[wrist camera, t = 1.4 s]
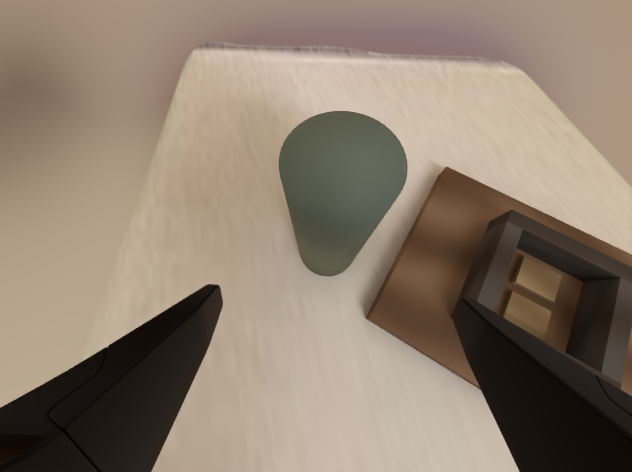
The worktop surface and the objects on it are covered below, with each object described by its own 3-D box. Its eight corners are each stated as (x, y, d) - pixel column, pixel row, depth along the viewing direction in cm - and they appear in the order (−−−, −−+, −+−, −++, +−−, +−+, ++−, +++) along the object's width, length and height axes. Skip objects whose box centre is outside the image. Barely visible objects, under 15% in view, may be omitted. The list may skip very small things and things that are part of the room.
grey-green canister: (363, 263, 21) (431, 193, 9) (311, 284, 21) (306, 241, 8) (341, 215, 23) (372, 97, 10) (291, 234, 22) (261, 132, 10)
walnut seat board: (620, 476, 17) (711, 524, 13) (365, 318, 20) (377, 319, 16) (652, 278, 21) (727, 271, 17) (438, 175, 24) (462, 149, 20)
